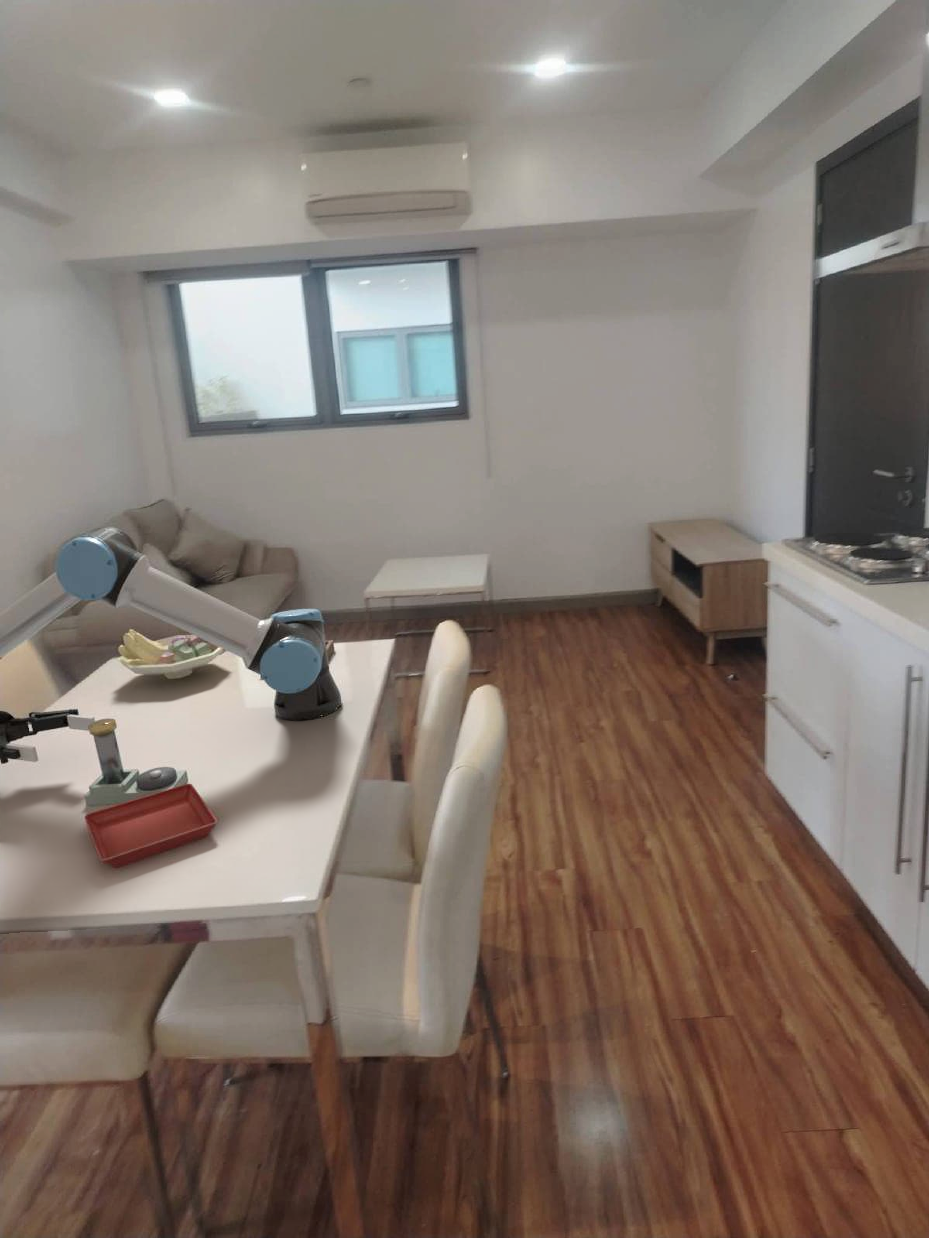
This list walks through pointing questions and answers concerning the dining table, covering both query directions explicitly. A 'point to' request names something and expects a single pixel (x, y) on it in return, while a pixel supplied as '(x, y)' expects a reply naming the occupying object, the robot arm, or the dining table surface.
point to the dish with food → (166, 654)
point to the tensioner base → (134, 785)
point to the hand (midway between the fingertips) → (66, 738)
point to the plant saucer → (149, 825)
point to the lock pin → (107, 750)
